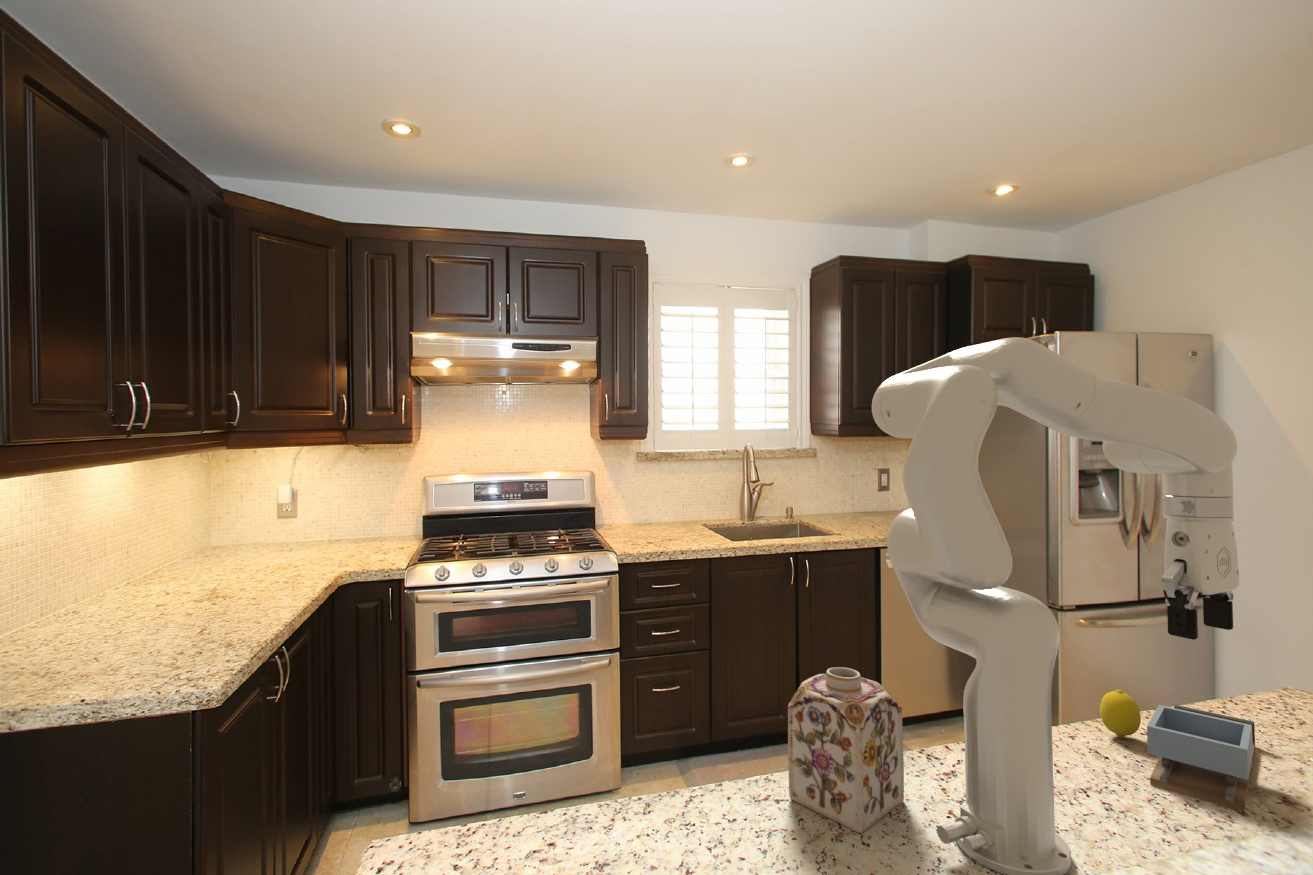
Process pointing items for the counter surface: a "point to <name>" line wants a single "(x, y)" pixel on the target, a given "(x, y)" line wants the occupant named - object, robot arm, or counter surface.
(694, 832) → the counter surface
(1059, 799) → the counter surface
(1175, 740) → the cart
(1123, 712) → the lemon
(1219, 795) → the track
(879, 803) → the decorative jar
